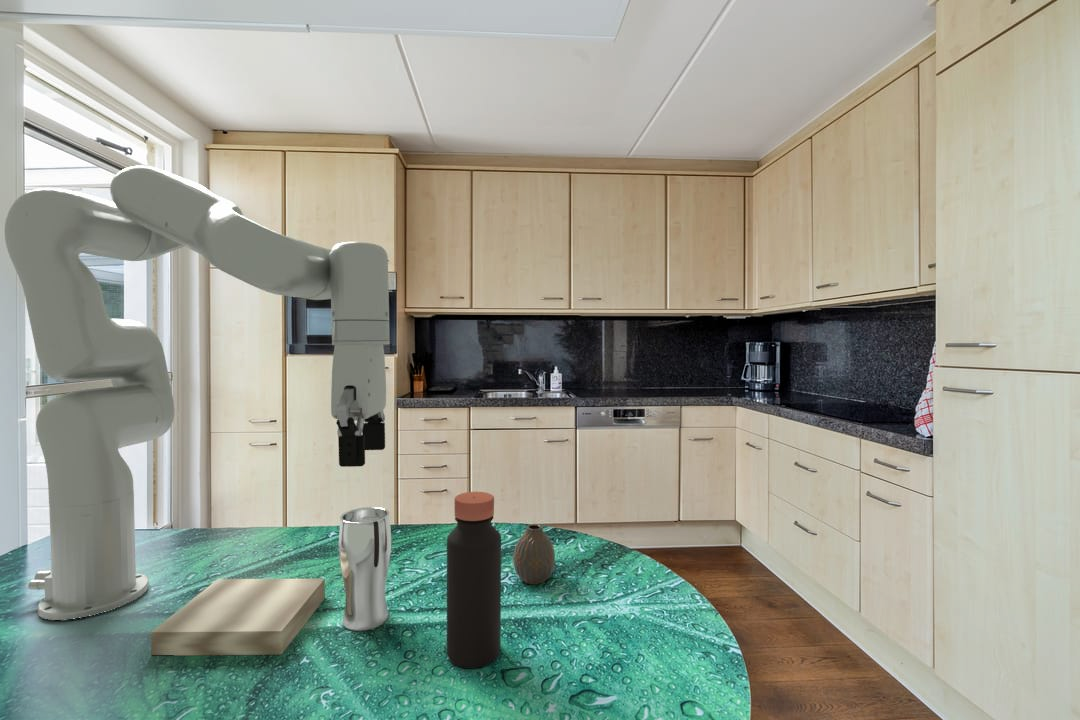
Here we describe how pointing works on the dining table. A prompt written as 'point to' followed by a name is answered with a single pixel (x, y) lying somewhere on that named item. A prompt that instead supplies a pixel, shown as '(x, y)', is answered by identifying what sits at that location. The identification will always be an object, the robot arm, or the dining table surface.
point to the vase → (534, 555)
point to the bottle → (473, 583)
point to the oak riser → (240, 618)
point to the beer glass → (365, 566)
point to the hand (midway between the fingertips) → (363, 457)
